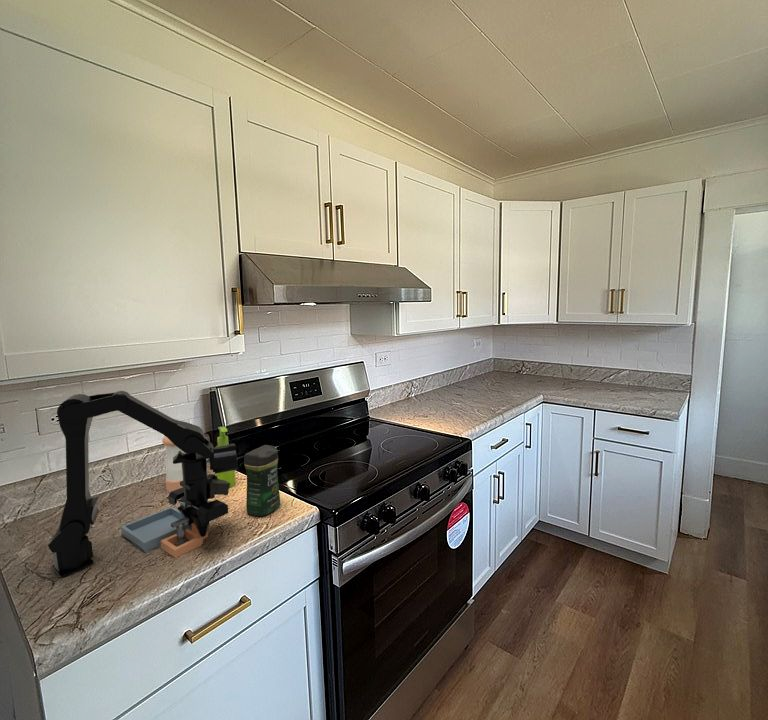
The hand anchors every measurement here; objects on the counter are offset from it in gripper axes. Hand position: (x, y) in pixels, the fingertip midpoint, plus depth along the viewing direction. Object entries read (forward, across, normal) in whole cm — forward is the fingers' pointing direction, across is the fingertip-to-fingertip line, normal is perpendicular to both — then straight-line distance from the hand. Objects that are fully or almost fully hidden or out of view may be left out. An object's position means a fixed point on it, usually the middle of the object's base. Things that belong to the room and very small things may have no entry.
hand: (199, 534), depth 108 cm
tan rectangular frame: (+1, 0, +3) cm, 4 cm away
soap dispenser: (+1, +23, -22) cm, 32 cm away
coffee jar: (+1, -1, -19) cm, 19 cm away
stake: (+1, 0, +5) cm, 5 cm away
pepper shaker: (+1, +35, -12) cm, 37 cm away
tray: (+1, +12, +5) cm, 12 cm away
